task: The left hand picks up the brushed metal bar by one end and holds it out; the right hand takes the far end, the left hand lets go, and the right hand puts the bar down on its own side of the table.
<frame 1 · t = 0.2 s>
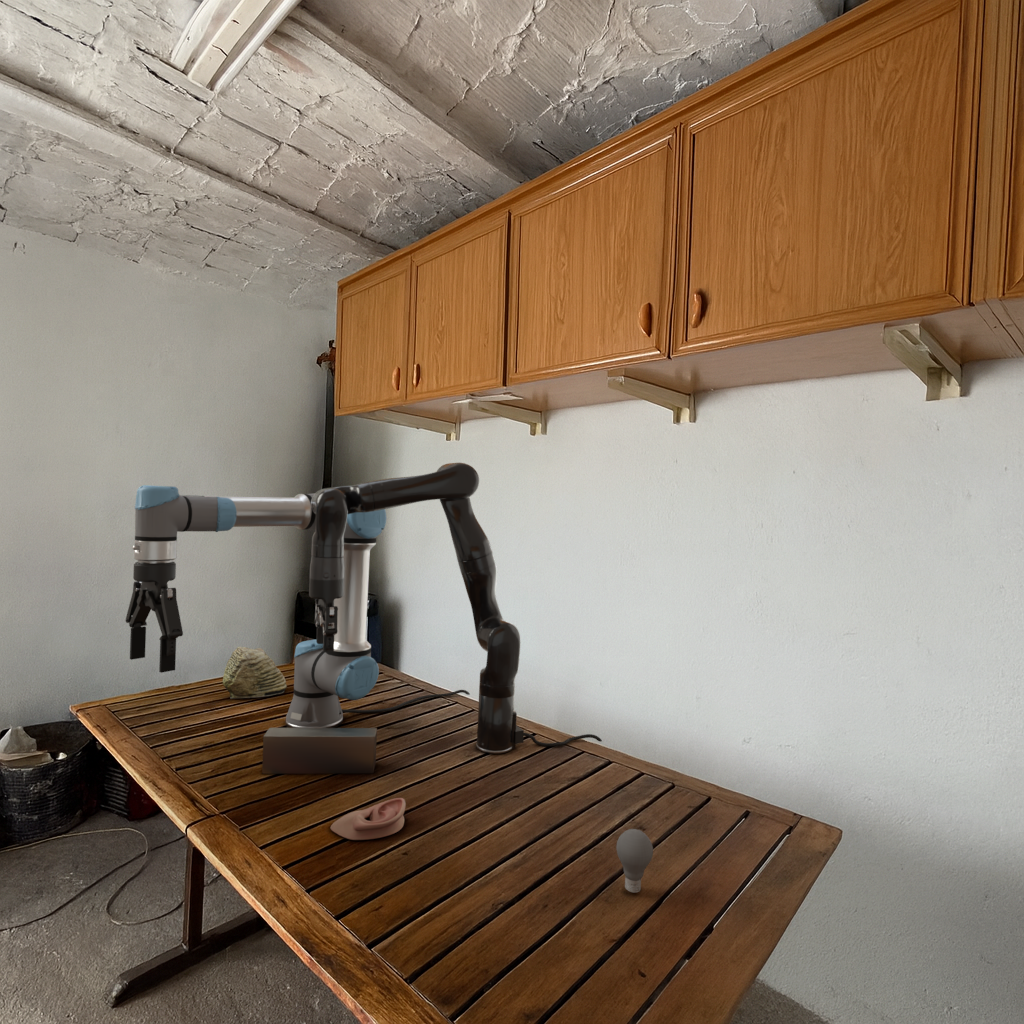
left hand: (151, 664, 130), 28 cm above the table, tool pointing down, fingers open, 13 cm apart
right hand: (324, 647, 144), 29 cm above the table, tool pointing down, fingers open, 8 cm apart
fossil: (254, 694, 198), on the table
light bulb: (632, 891, 106), on the table
bar: (320, 768, 147), on the table
anatomical model: (368, 826, 123), on the table
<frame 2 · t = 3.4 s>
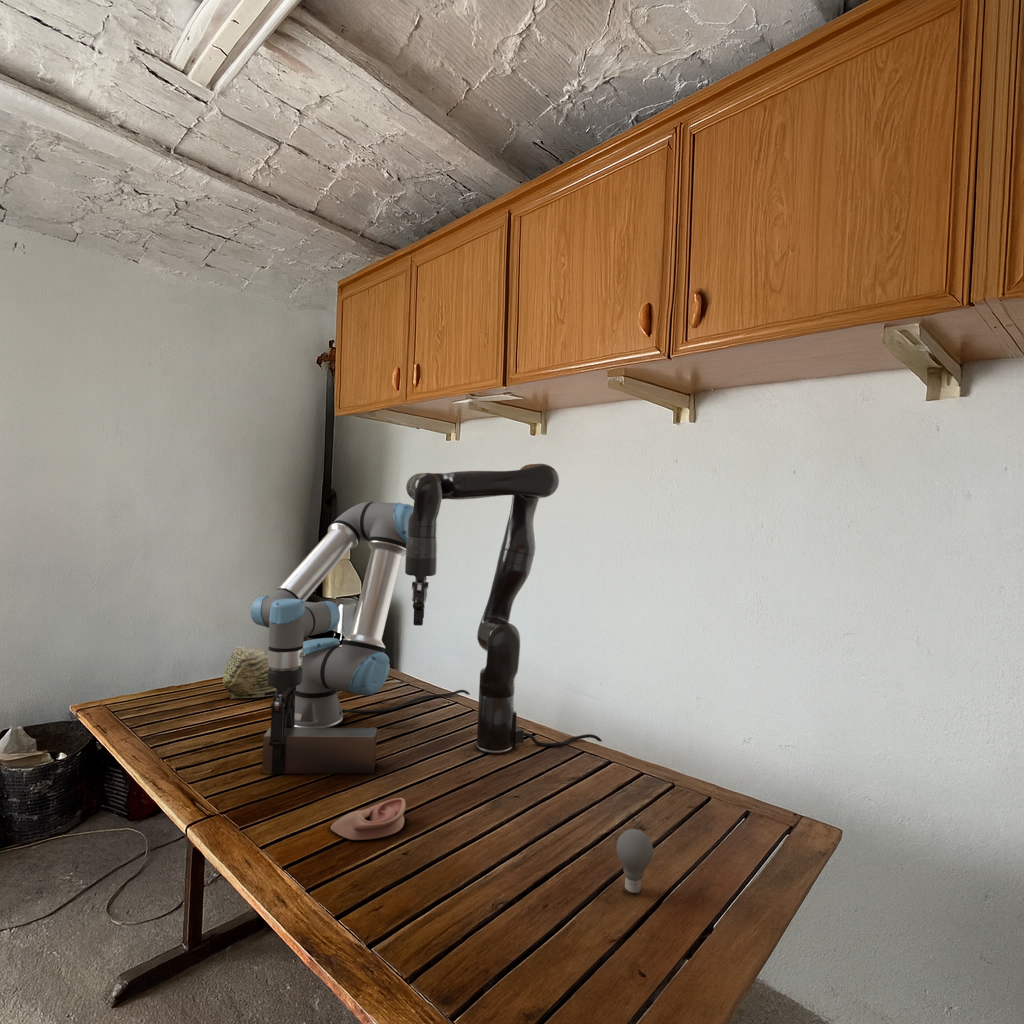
left hand: (281, 766, 146), 0 cm above the table, tool pointing down, fingers closed on bar, 5 cm apart
right hand: (418, 621, 154), 34 cm above the table, tool pointing down, fingers open, 8 cm apart
bar: (320, 768, 147), on the table, touching left hand
everything else where it was.
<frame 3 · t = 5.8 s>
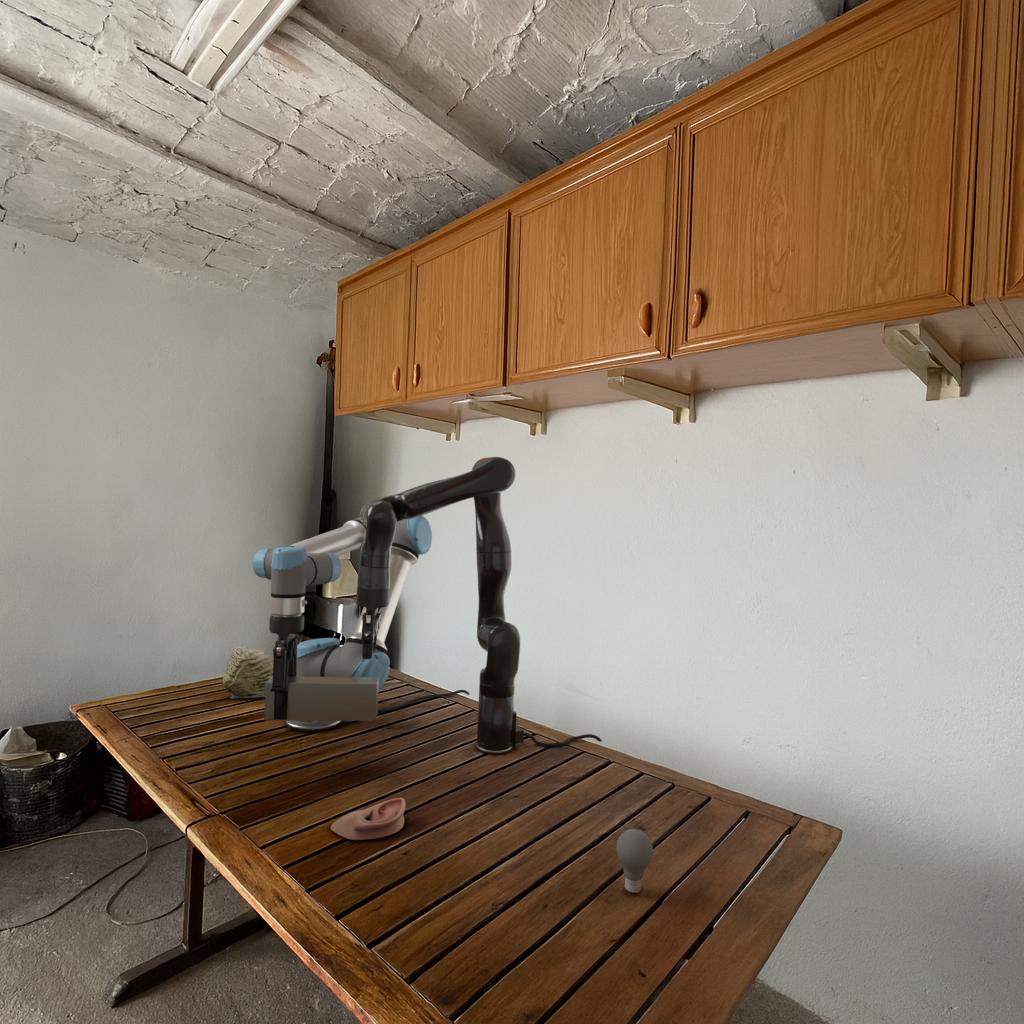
left hand: (283, 714, 146), 13 cm above the table, tool pointing down, fingers closed on bar, 5 cm apart
right hand: (369, 654, 148), 27 cm above the table, tool pointing down, fingers open, 8 cm apart
bar: (322, 716, 147), point 12 cm above the table, touching left hand
everything else where it was.
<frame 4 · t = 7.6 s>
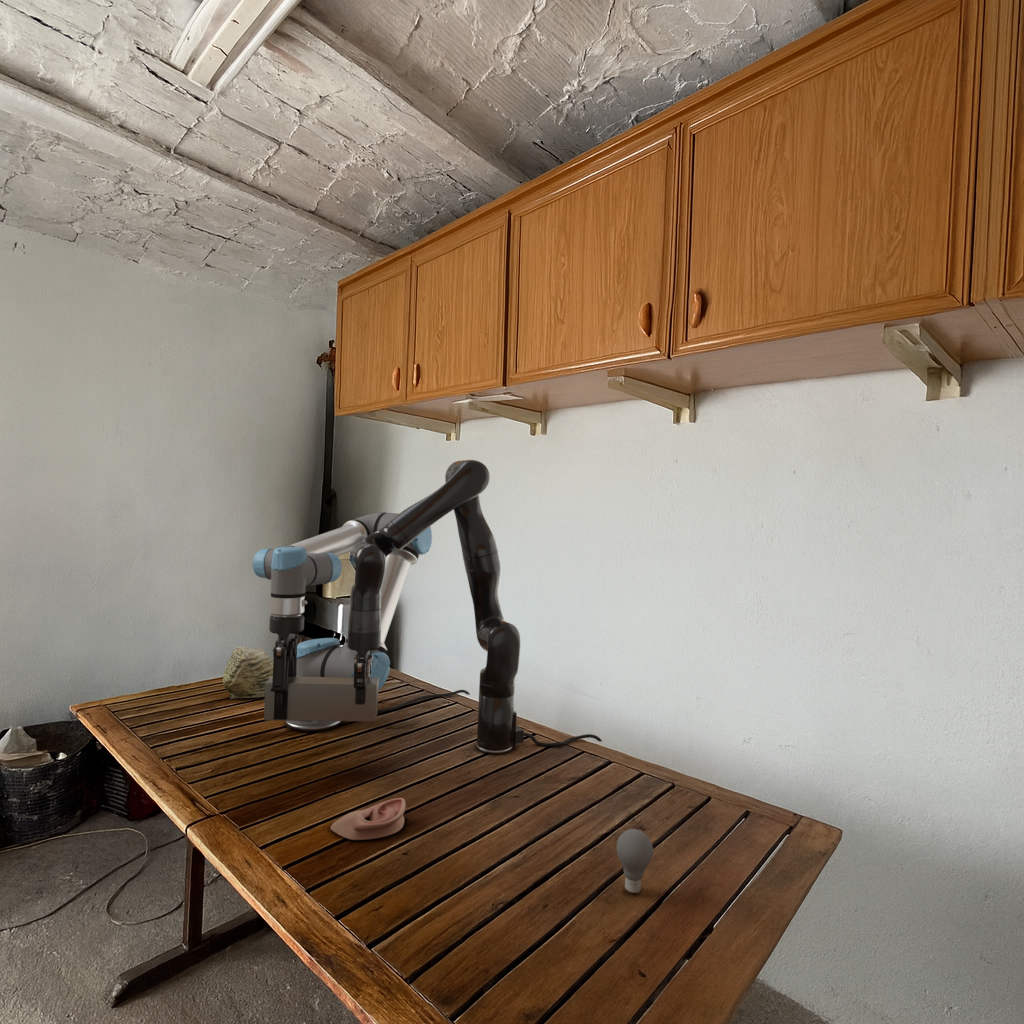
left hand: (283, 714, 146), 13 cm above the table, tool pointing down, fingers closed on bar, 5 cm apart
right hand: (361, 699, 148), 16 cm above the table, tool pointing down, fingers closed on bar, 5 cm apart
bar: (322, 717, 147), point 12 cm above the table, touching left hand, right hand
everything else where it was.
when the left hand's fingers open (13 cm above the table, at t = 8.5 s): bar stays where it is, held by the right hand.
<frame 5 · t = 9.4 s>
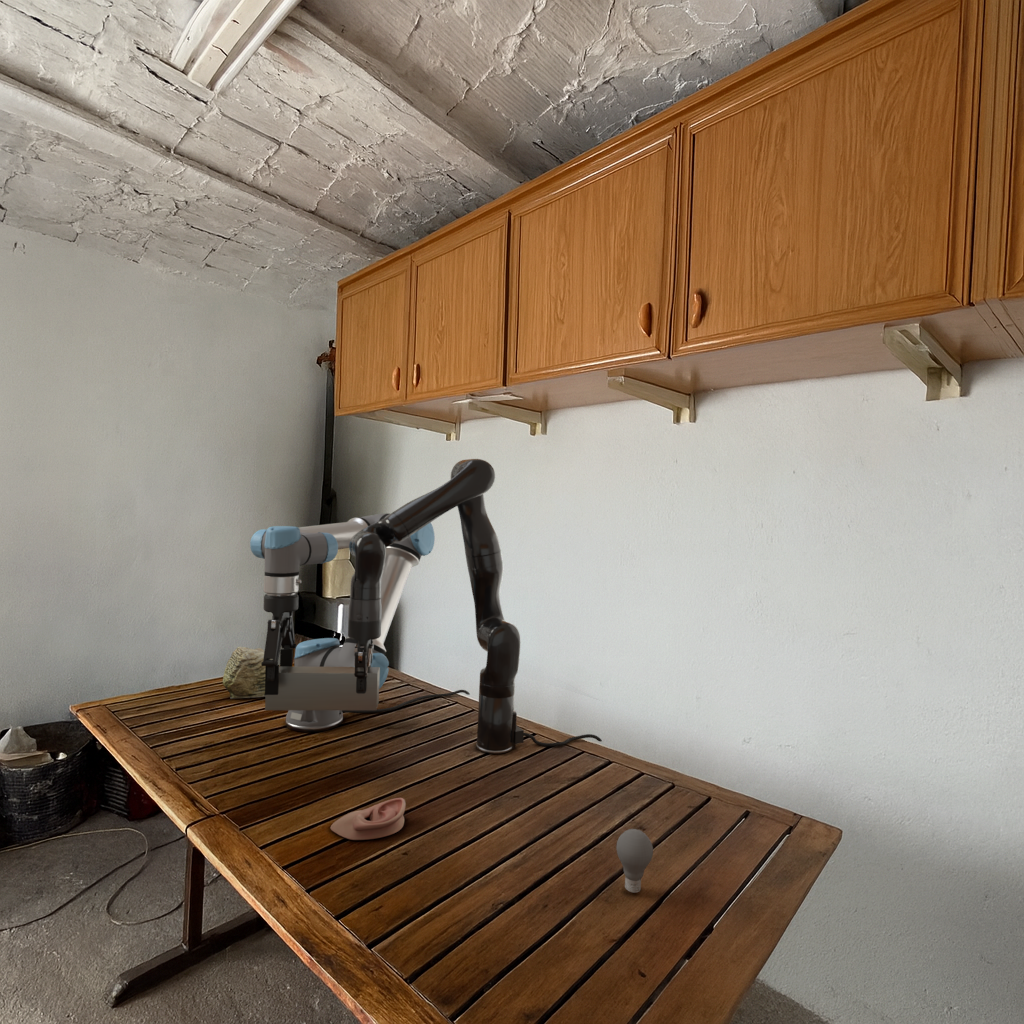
left hand: (279, 685, 146), 19 cm above the table, tool pointing down, fingers open, 13 cm apart
right hand: (362, 688, 148), 19 cm above the table, tool pointing down, fingers closed on bar, 5 cm apart
bar: (323, 706, 147), point 15 cm above the table, touching right hand
everything else where it was.
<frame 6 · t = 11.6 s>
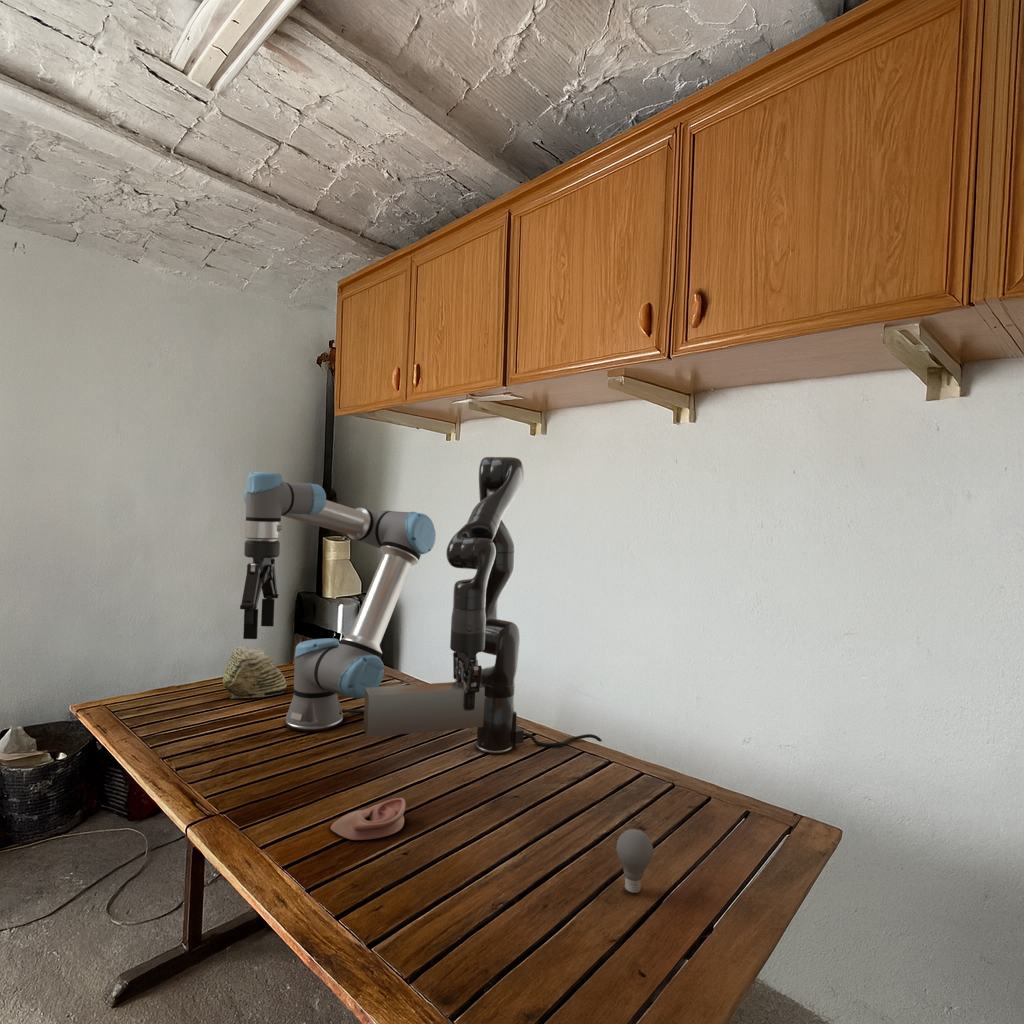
left hand: (259, 632, 145), 32 cm above the table, tool pointing down, fingers open, 13 cm apart
right hand: (465, 705, 138), 19 cm above the table, tool pointing down, fingers closed on bar, 5 cm apart
bar: (424, 727, 135), point 15 cm above the table, touching right hand
everything else where it was.
when the right hand's fingers open (5 cm above the table, at t = 15.8 s): bar drops 1 cm, on the table.
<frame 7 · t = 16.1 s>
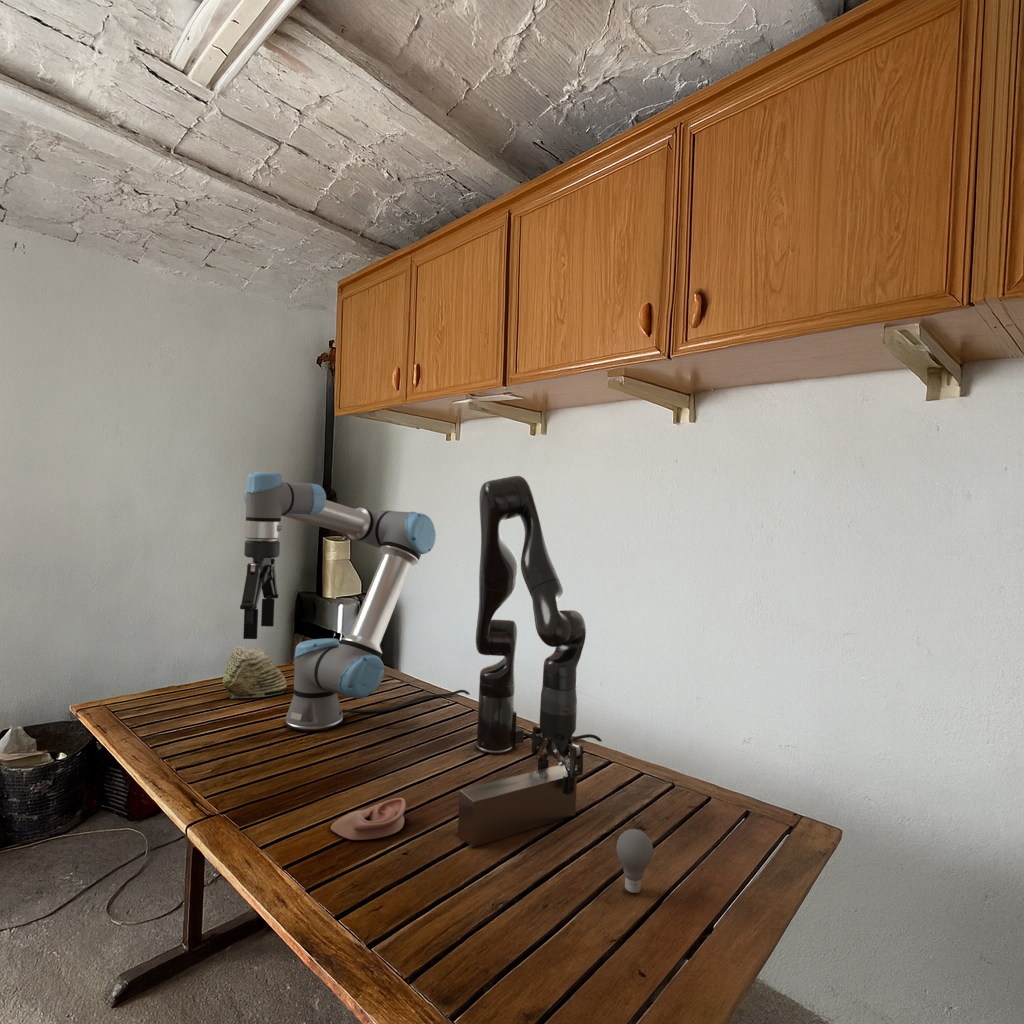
left hand: (259, 632, 145), 32 cm above the table, tool pointing down, fingers open, 13 cm apart
right hand: (554, 785, 131), 6 cm above the table, tool pointing down, fingers open, 8 cm apart
bar: (518, 824, 126), on the table
everything else where it was.
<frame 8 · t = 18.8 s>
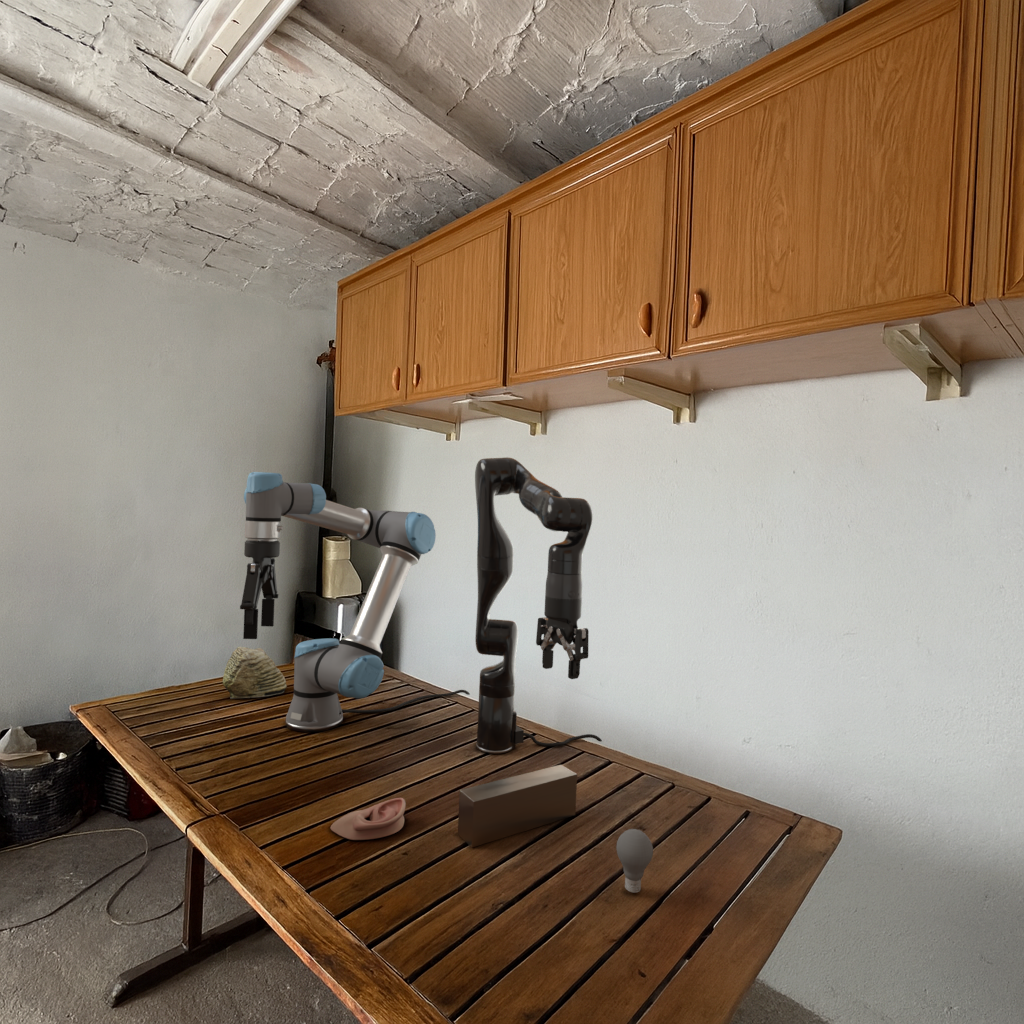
left hand: (259, 632, 145), 32 cm above the table, tool pointing down, fingers open, 13 cm apart
right hand: (560, 673, 130), 29 cm above the table, tool pointing down, fingers open, 8 cm apart
nothing on the table moved.
at the end: bar inside the target area (8.7 cm from its centre), on the table; the left hand is holding nothing; the right hand is holding nothing; bar at rest at the end (0.0 cm/s) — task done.
